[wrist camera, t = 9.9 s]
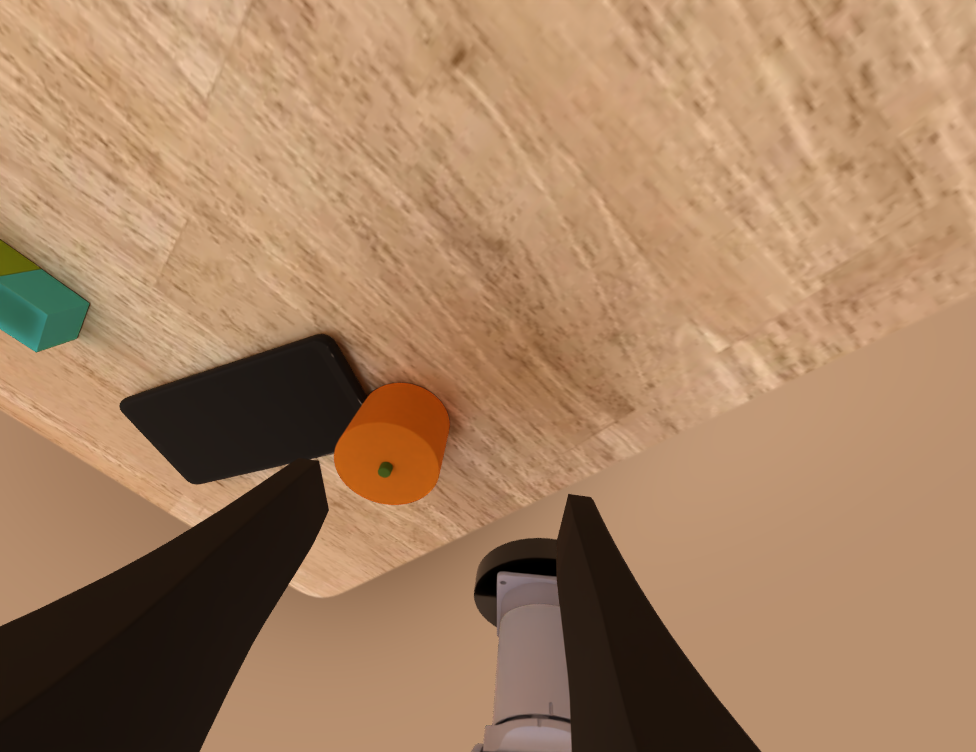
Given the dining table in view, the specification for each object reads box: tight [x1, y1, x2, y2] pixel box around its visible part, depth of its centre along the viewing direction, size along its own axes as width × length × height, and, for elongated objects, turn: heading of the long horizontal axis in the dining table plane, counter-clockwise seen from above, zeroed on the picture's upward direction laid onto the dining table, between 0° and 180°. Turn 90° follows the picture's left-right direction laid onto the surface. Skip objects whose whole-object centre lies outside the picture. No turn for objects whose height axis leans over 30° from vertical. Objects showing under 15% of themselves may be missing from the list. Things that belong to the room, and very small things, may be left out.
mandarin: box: [334, 383, 450, 505], centre depth 19 cm, size 5×5×4 cm
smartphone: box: [120, 334, 367, 484], centre depth 21 cm, size 7×1×15 cm
